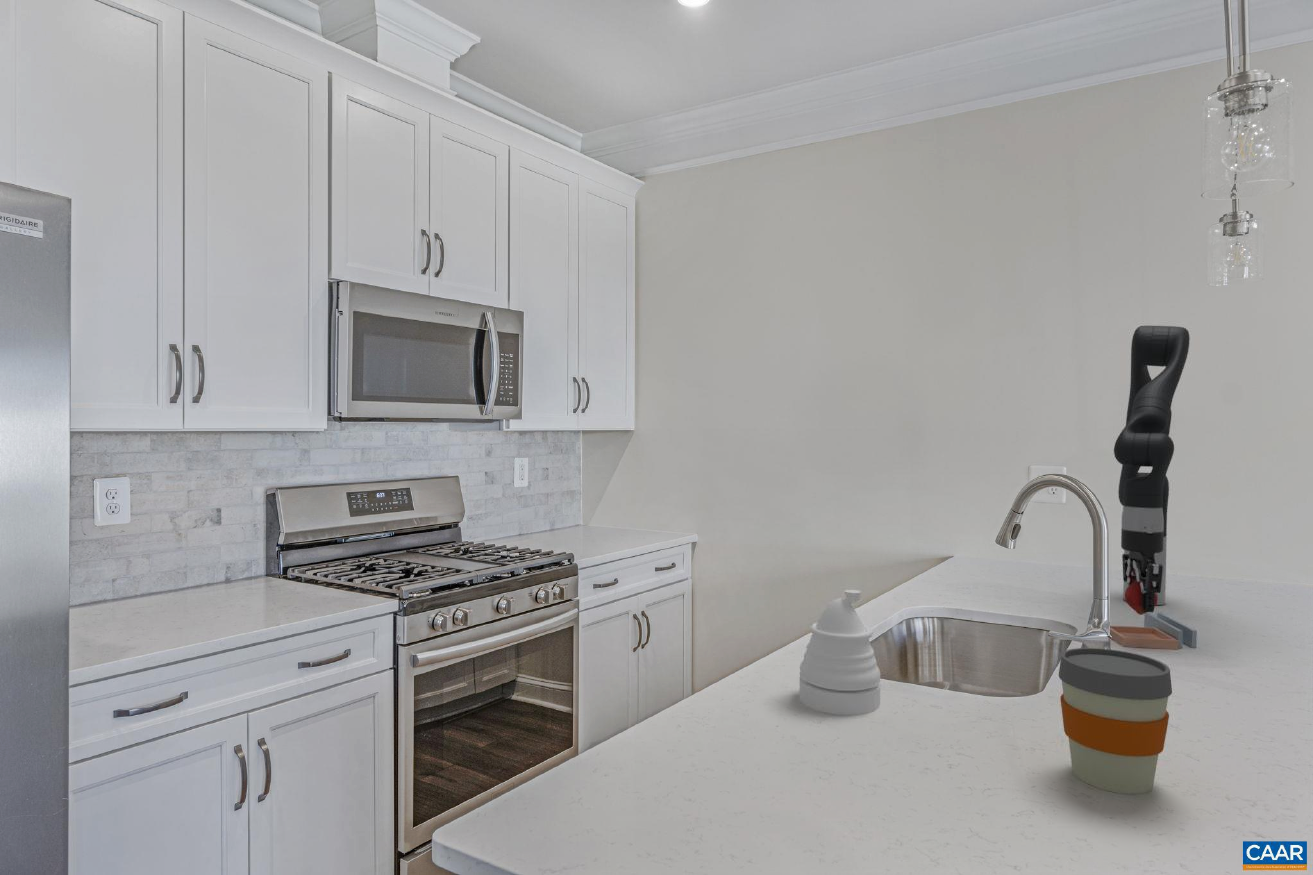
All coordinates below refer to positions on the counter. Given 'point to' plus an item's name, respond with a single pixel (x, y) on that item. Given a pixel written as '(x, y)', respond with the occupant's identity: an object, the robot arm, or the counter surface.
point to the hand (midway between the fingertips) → (1140, 607)
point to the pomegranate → (1136, 597)
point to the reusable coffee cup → (1114, 716)
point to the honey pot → (840, 662)
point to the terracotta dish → (1142, 637)
